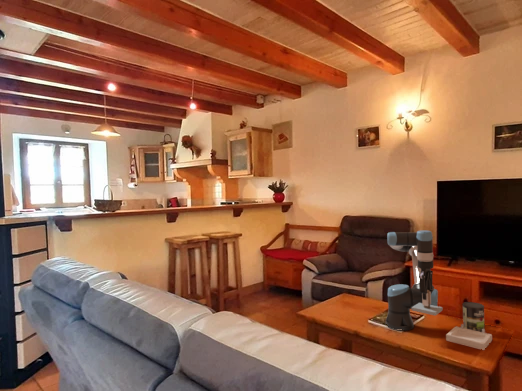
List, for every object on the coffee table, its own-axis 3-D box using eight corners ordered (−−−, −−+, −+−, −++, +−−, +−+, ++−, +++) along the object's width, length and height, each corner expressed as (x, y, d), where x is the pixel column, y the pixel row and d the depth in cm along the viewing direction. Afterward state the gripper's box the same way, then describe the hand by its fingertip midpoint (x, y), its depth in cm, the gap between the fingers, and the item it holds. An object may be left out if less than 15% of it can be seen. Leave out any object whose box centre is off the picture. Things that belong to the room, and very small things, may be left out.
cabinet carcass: (446, 340, 181) (446, 330, 181) (455, 331, 192) (455, 322, 192) (484, 350, 169) (483, 340, 169) (492, 340, 179) (491, 330, 179)
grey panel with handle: (411, 310, 184) (410, 290, 184) (419, 305, 191) (418, 286, 191) (435, 315, 176) (434, 294, 176) (442, 310, 183) (441, 290, 182)
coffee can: (489, 332, 189) (488, 306, 189) (474, 335, 186) (473, 308, 186) (473, 325, 199) (472, 300, 199) (458, 328, 196) (457, 303, 196)
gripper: (426, 263, 175) (428, 310, 175) (438, 258, 186) (440, 302, 186) (411, 261, 180) (413, 307, 181) (424, 256, 191) (425, 299, 192)
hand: (426, 304), depth 183 cm, fingers closed on grey panel with handle, 3 cm apart
